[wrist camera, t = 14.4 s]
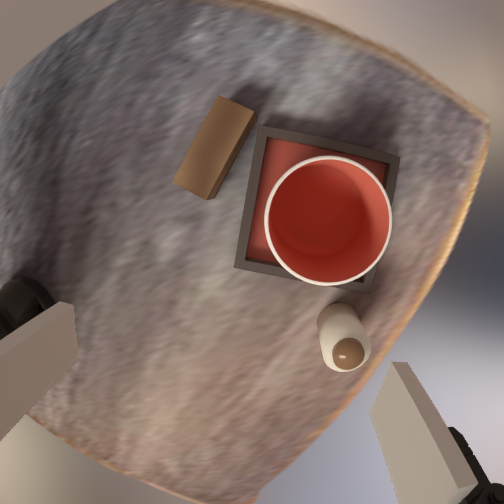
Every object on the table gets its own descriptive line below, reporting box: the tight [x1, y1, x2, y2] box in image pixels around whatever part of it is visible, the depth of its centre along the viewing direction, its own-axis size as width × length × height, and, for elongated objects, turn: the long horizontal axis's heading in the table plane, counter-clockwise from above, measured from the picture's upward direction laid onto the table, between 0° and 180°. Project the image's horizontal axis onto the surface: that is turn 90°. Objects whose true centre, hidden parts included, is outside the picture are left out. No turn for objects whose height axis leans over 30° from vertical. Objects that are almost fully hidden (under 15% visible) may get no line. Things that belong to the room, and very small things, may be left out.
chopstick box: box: [173, 95, 257, 200], centre depth 31 cm, size 4×10×4 cm, turn 152°
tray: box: [234, 125, 400, 294], centre depth 32 cm, size 15×15×2 cm
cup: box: [264, 156, 392, 286], centre depth 28 cm, size 10×10×10 cm
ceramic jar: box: [317, 303, 371, 372], centre depth 32 cm, size 5×5×8 cm
